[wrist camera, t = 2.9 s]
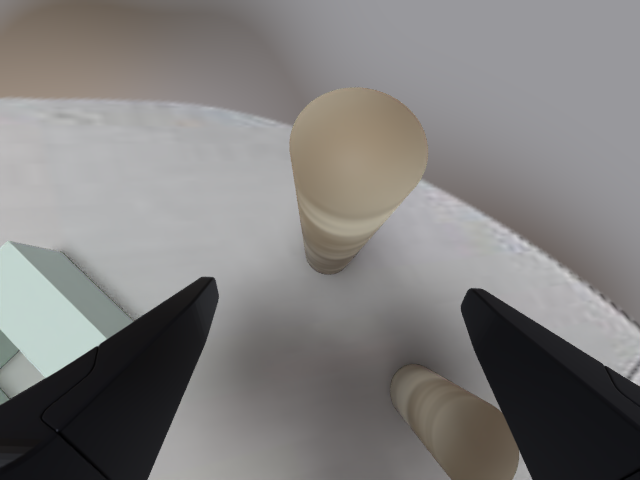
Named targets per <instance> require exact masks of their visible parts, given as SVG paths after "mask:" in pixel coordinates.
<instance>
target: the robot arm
mask: <svg viewBox="0 0 640 480" xmlns="http://www.w3.org/2000/svg"><path fill="white" fill-rule="evenodd" d="M218 299H219V294H218V289H217V285H216V280H215V278H213V277H201V278H199V279H198V280H196V281H195V282H193V283H192V284H190V285H189V286H187V287H185V288H184V289H182V290H181V291H179V292H178V293H176V294H175V295H173V296H172V297H170V298H169V299H167V300H166V301H164V302H163V303H161V304H160V305H158V306H157V307H155V308H154V309H152V310H151V311H149V312H147V313H146V314H144V315H143V316H141V317H140V318H138V319H137V320H135V321H134V322H132V323H131V324H129V325H128V326H126V327H125V328H123V329H122V330H120V331H119V332H117V333H116V334H114V335H112V336H111V337H109V338H108V339H106V340H105V341H103V342H102V343H100V344H99V346H96V347H94V348H93V349H91V350H90V351H88V352H86V353H85V354H83V355H82V356H80V357H79V358H77V359H76V360H74V361H72V362H71V363H69V364H68V365H66V366H65V367H63V368H61V369H60V370H58V371H57V372H55V373H53V374H52V375H50V376H48V377H47V378H45V379H43V380H42V381H40V382H38V383H37V384H35V385H33V386H32V387H30V388H28V389H27V390H25V391H23V392H21V393H20V394H18V395H16V396H15V397H13V398H11V399H9V400H8V401H6V402H4V403H3V404H1V405H0V480H147V479H148V477H149V475H150V472H151V470H152V468H153V465H154V463H155V461H156V458H157V456H158V453H159V451H160V449H161V446H162V444H163V442H164V439H165V437H166V435H167V432H168V430H169V428H170V425H171V423H172V421H173V418H174V416H175V413H176V411H177V409H178V406H179V404H180V402H181V399H182V397H183V395H184V392H185V390H186V388H187V385H188V383H189V381H190V378H191V376H192V373H193V371H194V369H195V366H196V364H197V362H198V359H199V357H200V355H201V352H202V350H203V348H204V345H205V342H206V340H207V337H208V334H209V330H210V327H211V324H212V320H213V317H214V313H215V310H216V307H217V303H218ZM461 312H462V315H463V318H464V321H465V324H466V327H467V330H468V333H469V336H470V339H471V342H472V345H473V348H474V351H475V353H476V355H477V358H478V360H479V362H480V365H481V367H482V369H483V371H484V373H485V376H486V378H487V380H488V382H489V384H490V387H491V389H492V391H493V393H494V396H495V398H496V400H497V402H498V404H499V407H500V409H501V411H502V413H503V415H504V418H505V420H506V422H507V424H508V426H509V429H510V431H511V433H512V435H513V438H514V440H515V442H516V444H517V446H518V449H519V451H520V453H521V455H522V457H523V460H524V462H525V464H526V466H527V469H528V471H529V473H530V475H531V477H532V480H640V386H638V385H636V384H635V383H633V382H631V381H630V380H628V379H626V378H625V377H623V376H621V375H620V374H618V373H617V372H615V371H614V370H612V369H610V368H609V367H607V366H604V365H603V364H602V363H601V362H599V361H597V360H596V359H594V358H593V357H591V356H589V355H588V354H586V353H585V352H583V351H581V350H580V349H578V348H577V347H575V346H573V345H572V344H570V343H569V342H567V341H565V340H564V339H562V338H560V337H559V336H557V335H556V334H554V333H552V332H551V331H549V330H548V329H546V328H544V327H543V326H541V325H540V324H538V323H536V322H535V321H533V320H532V319H530V318H528V317H527V316H525V315H524V314H522V313H520V312H519V311H517V310H516V309H514V308H512V307H511V306H509V305H508V304H506V303H504V302H503V301H501V300H500V299H498V298H496V297H495V296H493V295H492V294H490V293H488V292H487V291H485V290H483V289H479V288H471V289H469V290H468V291H467V293H466V295H465V297H464V300H463V302H462V304H461Z"/></svg>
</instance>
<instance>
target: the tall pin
mask: <svg viewBox="0 0 640 480" xmlns="http://www.w3.org/2000/svg"><path fill="white" fill-rule="evenodd" d="M290 156H291V162H292V169H293V175H294V182H295V188H296V195H297V201H298V208H299V214H300V221H301V227H302V234H303V240H304V247H305V253H306V258H307V261H308V263H309V264H310V266H311V267H312V268H313V269H314V270H316V271H317V272H319V273H322V274H335V273H338V272H340V271H341V270H343V269H344V268H345V267H346V266H347V265H348V263H349V262H350V261H351V260H352V259H353V258H354V257H355V255H356V254H357V253H358V252H359V251H360V250H361V249H362V247H363V246H364V245H365V244H366V243H367V242H368V241H369V239H370V238H371V237H372V236H373V235H374V234H375V233H376V231H377V230H378V229H379V228H380V227H381V226H382V225H383V223H384V222H385V221H386V220H387V219H388V218H389V216H390V215H391V214H392V213H393V212H394V211H395V210H396V208H397V207H398V206H399V205H400V204H401V203H402V202H403V200H404V199H405V198H406V197H407V196H408V195H409V194H410V192H411V191H412V190H413V189H414V188H415V187H416V186H417V184H418V183H419V181H420V180H421V178H422V176H423V173H424V171H425V168H426V165H427V159H428V145H427V139H426V136H425V133H424V130H423V128H422V126H421V124H420V122H419V121H418V119H417V118H416V116H415V115H414V114H413V113H412V112H411V111H410V110H409V109H408V108H407V107H406V106H405V105H404V104H402V103H401V102H400V101H399V100H397V99H395V98H393V97H392V96H390V95H387V94H385V93H383V92H380V91H377V90H372V89H368V88H343V89H338V90H334V91H331V92H328V93H326V94H324V95H321V96H320V97H318V98H316V99H315V100H313V101H312V102H311V103H310V104H308V105H307V106H306V107H305V108H304V110H303V111H302V112H301V113H300V114H299V116H298V117H297V119H296V121H295V123H294V125H293V128H292V131H291V135H290Z"/></svg>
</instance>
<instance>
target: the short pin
mask: <svg viewBox="0 0 640 480" xmlns="http://www.w3.org/2000/svg"><path fill="white" fill-rule="evenodd" d="M390 394H391V399H392V402H393V404H394V406H395V408H396V410H397V411H398V412H399V413H400V415H401V416H402V417H403V418H404V420H405V421H406V422H407V424H408V425H409V426H410V427H411V429H412V430H413V431H414V433H415V434H416V435H417V436H418V438H419V439H420V440H421V441H422V443H423V444H424V445H425V447H426V448H427V449H428V450H429V452H430V453H431V454H432V456H433V457H434V458H435V459H436V461H437V462H438V463H439V464H440V466H441V467H442V468H443V470H444V471H445V472H446V473H447V475H448V476H449V477H450V478H451V480H512V479H513V477H514V475H515V473H516V470H517V467H518V462H519V449H518V446H517V444H516V442H515V440H514V438H513V435H512V433H511V431H510V429H509V426H508V424H507V422H506V420H505V418H504V415H503V413H502V412H501V411H499V410H498V409H497V408H496V407H494V406H493V405H491V404H489V403H488V402H486V401H484V400H482V399H480V398H479V397H477V396H475V395H473V394H472V393H470V392H468V391H466V390H465V389H463V388H461V387H459V386H458V385H456V384H454V383H452V382H451V381H449V380H447V379H445V378H443V377H442V376H440V375H438V374H436V373H435V372H433V371H431V370H429V369H428V368H426V367H424V366H422V365H418V364H409V365H406V366H404V367H402V368H400V369H399V370H398V371H397V372H396V373H395V375H394V377H393V379H392V382H391V386H390Z"/></svg>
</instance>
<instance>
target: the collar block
mask: <svg viewBox="0 0 640 480" xmlns="http://www.w3.org/2000/svg"><path fill="white" fill-rule="evenodd" d="M132 322H134V321H133V320H132V319H131V318H130V317H128V316H127V315H126V314H125V313H124V312H123V311H122V310H121V309H120V308H119V307H118V306H117V305H116V304H115V303H114V302H113V301H112V300H111V299H110V298H109V297H108V296H107V295H106V294H105V293H103V292H102V291H101V290H100V289H99V288H98V287H97V286H96V285H95V284H94V283H93V282H92V281H91V280H90V279H89V278H88V277H87V276H86V275H85V274H84V273H83V272H82V271H81V270H80V269H79V268H77V267H76V266H75V265H74V264H73V263H72V262H71V261H70V260H69V259H68V258H67V257H66V256H65V255H64V254H63V253H62V252H60V251H55V250H50V249H46V248H41V247H36V246H31V245H26V244H21V243H16V242H12V241H8V242H6V243H5V244H4V245H3V246H2V247H1V248H0V368H1V367H2V366H3V365H4V364H5V363H6V362H7V361H9V360H10V359H11V358H12V357H13V356H14V355H15V354H16V353H17V352H18V351H19V350H20V351H21V352H22V353H23V354H24V356H25V357H26V358H27V359H28V360H29V361H30V362H31V363H32V364H33V365H34V366H35V367H36V368H37V370H38V371H39V372H40V373H41V374H42V375H43V376H44V377H45V378H47V377H48V376H50V375H52V374H53V373H55V372H57V371H58V370H60V369H61V368H63V367H65V366H66V365H68V364H69V363H71V362H72V361H74V360H76V359H77V358H79V357H80V356H82V355H83V354H85V353H86V352H88V351H90V350H91V349H93V348H94V347H96V346H99V344H100V343H102V342H103V341H105V340H106V339H108V338H109V337H111V336H112V335H114V334H116V333H117V332H119V331H120V330H122V329H123V328H125V327H126V326H128V325H129V324H131V323H132ZM8 400H9V398H8V397H7V396H6V395H5V394H4V393H3V391H2V390H1V389H0V405H1V404H3V403H4V402H6V401H8Z"/></svg>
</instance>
